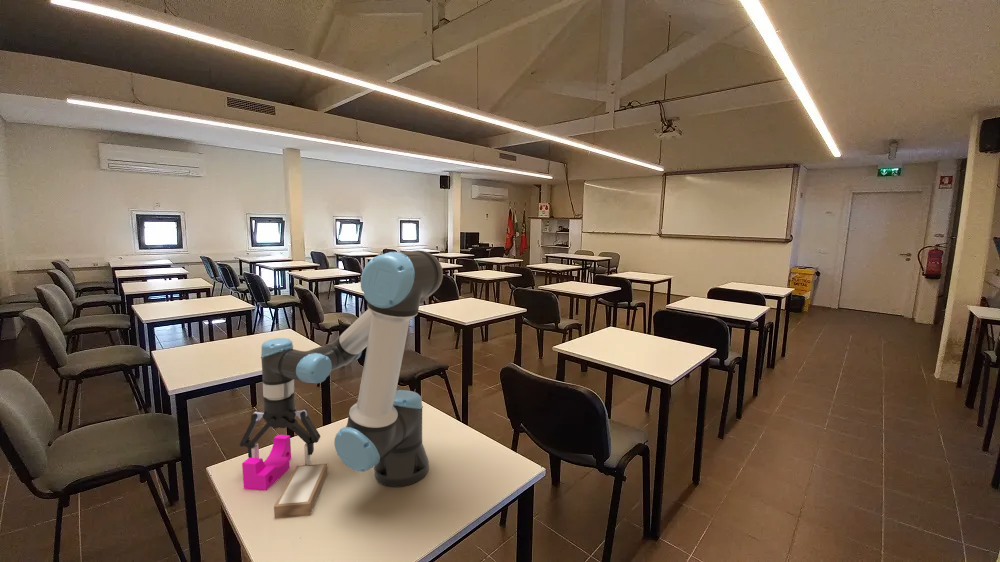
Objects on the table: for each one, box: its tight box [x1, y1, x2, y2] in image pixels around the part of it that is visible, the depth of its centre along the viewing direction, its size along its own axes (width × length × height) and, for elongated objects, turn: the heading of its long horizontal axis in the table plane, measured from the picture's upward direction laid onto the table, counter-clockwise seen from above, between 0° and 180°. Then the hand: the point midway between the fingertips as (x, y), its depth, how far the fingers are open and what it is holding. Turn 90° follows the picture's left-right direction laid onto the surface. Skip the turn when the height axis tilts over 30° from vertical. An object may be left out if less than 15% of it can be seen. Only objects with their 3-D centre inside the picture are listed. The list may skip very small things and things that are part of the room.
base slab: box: [273, 463, 329, 519], centre depth 106 cm, size 8×17×3 cm, turn 10°
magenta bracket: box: [241, 434, 292, 492], centre depth 115 cm, size 15×6×8 cm, turn 175°
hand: (282, 466), depth 116 cm, fingers open, 13 cm apart
